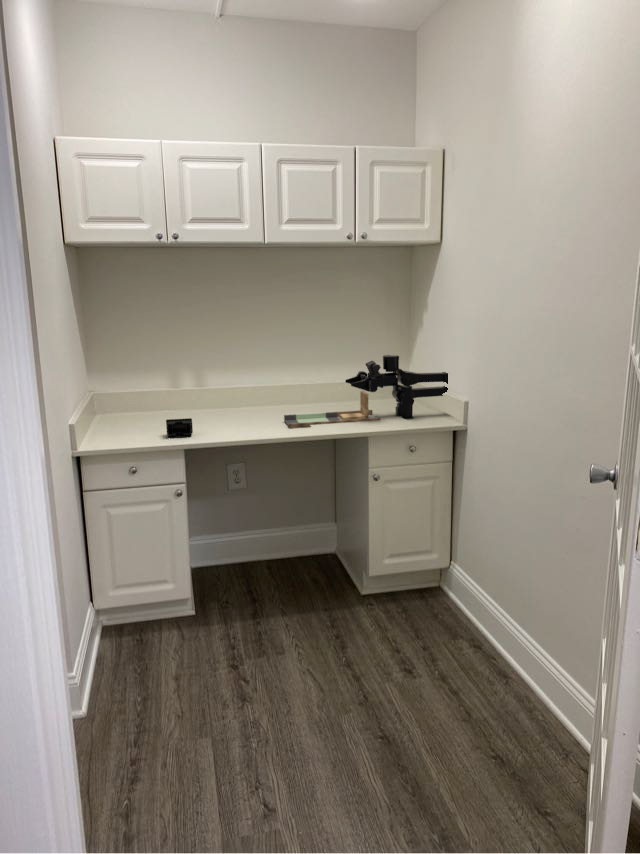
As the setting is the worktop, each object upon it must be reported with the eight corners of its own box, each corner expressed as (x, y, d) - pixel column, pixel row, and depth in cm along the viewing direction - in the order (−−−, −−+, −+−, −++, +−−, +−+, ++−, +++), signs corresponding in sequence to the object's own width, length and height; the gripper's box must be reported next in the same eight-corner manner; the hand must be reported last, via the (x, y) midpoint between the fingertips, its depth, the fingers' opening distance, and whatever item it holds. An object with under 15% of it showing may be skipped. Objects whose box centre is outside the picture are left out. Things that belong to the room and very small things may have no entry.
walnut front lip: (379, 421, 281) (379, 417, 281) (380, 422, 280) (380, 418, 279) (288, 427, 273) (288, 423, 273) (289, 428, 272) (289, 424, 271)
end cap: (192, 433, 267) (191, 416, 266) (192, 437, 260) (191, 420, 259) (167, 434, 266) (166, 418, 264) (166, 438, 259) (165, 422, 257)
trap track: (371, 416, 292) (371, 409, 291) (379, 421, 281) (379, 414, 280) (284, 421, 284) (284, 415, 283) (288, 427, 273) (288, 420, 272)
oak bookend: (363, 416, 288) (363, 391, 285) (368, 419, 281) (368, 393, 279) (339, 417, 286) (339, 392, 283) (343, 421, 279) (343, 395, 276)
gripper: (376, 358, 289) (342, 361, 286) (390, 364, 272) (353, 367, 269) (377, 383, 292) (343, 386, 289) (390, 390, 274) (354, 394, 271)
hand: (348, 382), depth 279 cm, fingers open, 9 cm apart
